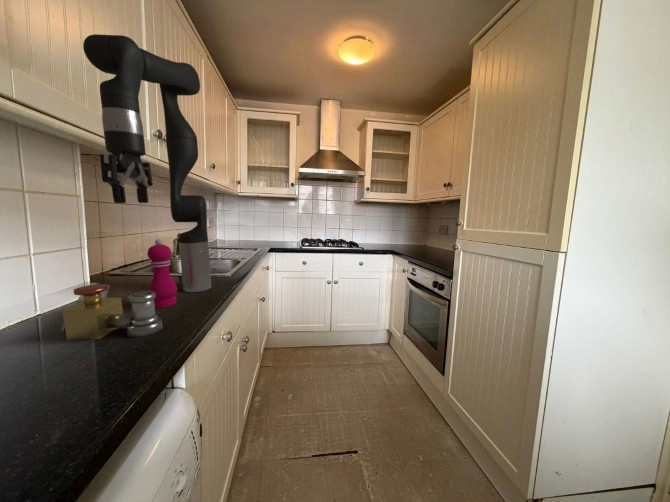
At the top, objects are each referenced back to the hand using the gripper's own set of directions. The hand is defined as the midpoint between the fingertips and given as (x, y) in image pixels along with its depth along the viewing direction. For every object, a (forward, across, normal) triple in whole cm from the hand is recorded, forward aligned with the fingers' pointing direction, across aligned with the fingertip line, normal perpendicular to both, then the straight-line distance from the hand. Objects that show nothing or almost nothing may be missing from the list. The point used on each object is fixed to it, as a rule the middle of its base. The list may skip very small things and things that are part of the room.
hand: (132, 202), depth 67 cm
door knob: (+28, -7, -4) cm, 29 cm away
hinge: (+31, +3, +16) cm, 35 cm away
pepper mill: (+31, +11, +1) cm, 33 cm away
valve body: (+30, -7, +2) cm, 31 cm away
